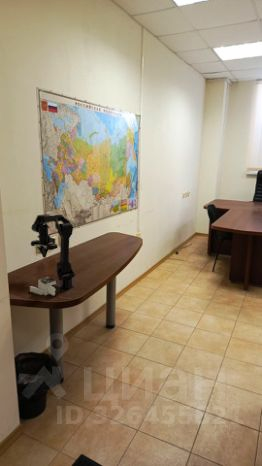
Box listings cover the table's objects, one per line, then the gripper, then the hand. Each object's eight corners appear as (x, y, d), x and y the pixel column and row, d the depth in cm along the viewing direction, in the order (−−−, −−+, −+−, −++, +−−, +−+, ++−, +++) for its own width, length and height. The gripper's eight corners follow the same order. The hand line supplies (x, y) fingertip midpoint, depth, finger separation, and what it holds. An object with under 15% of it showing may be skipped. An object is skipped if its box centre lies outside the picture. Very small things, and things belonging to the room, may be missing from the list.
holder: (56, 288, 187) (56, 283, 187) (41, 295, 177) (41, 290, 177) (45, 284, 192) (45, 280, 191) (30, 291, 182) (29, 286, 181)
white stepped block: (48, 276, 184) (61, 283, 177) (48, 287, 186) (61, 294, 180) (38, 279, 179) (51, 287, 172) (37, 291, 181) (51, 299, 174)
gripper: (63, 233, 201) (64, 257, 205) (42, 230, 211) (43, 252, 214) (50, 237, 192) (51, 261, 196) (29, 233, 201) (30, 256, 205)
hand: (44, 257), depth 203 cm, fingers closed
